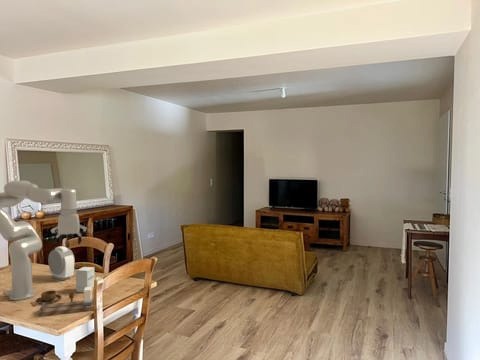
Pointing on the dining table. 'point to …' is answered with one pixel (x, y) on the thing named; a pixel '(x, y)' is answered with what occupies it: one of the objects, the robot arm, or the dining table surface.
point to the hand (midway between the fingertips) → (69, 244)
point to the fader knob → (88, 296)
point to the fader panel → (64, 308)
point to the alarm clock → (61, 263)
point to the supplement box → (84, 278)
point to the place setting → (51, 297)
